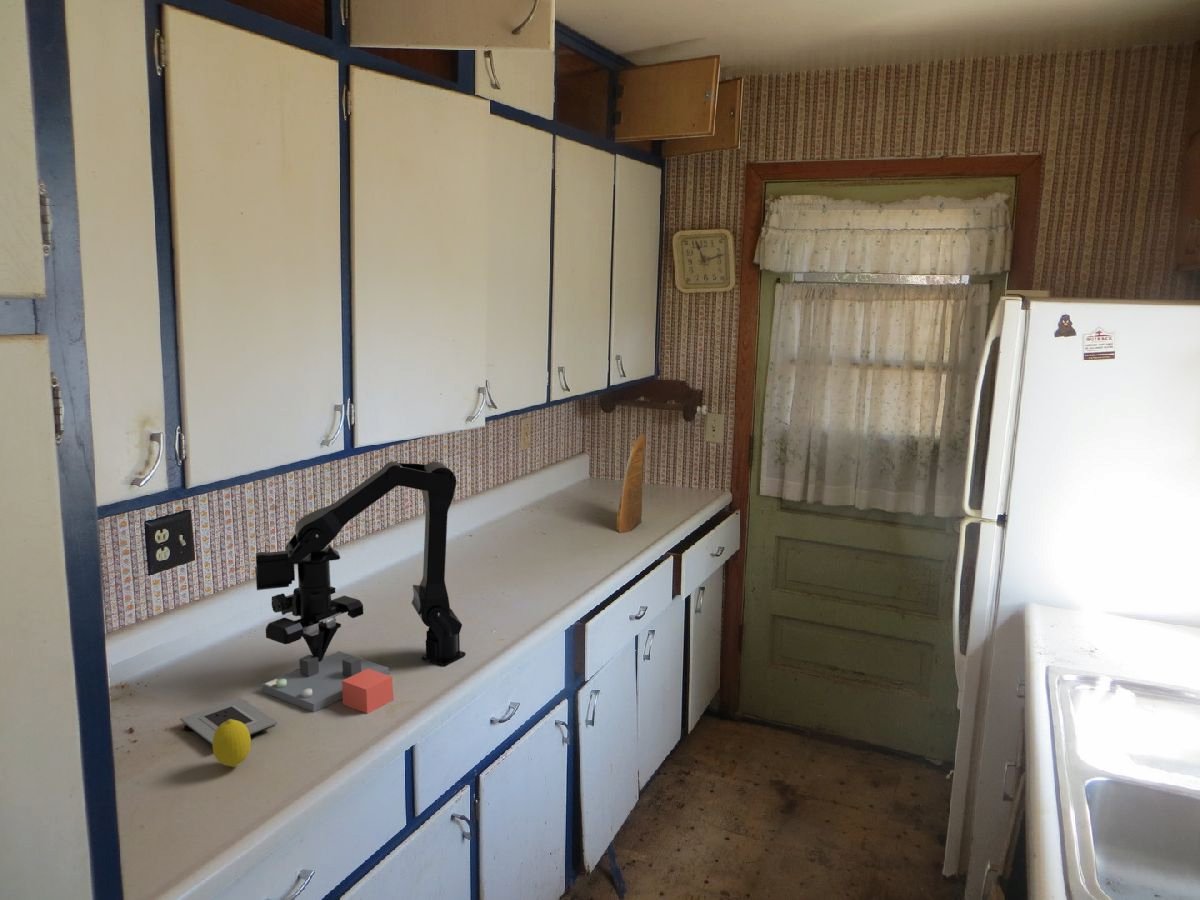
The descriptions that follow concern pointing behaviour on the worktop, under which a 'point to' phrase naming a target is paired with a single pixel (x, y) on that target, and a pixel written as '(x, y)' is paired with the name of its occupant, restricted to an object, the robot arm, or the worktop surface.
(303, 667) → the dark gray block
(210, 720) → the electrical outlet
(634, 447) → the wooden fin shape
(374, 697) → the cap
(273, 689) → the panel
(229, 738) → the lemon
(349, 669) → the dark grey small block
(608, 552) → the worktop surface
